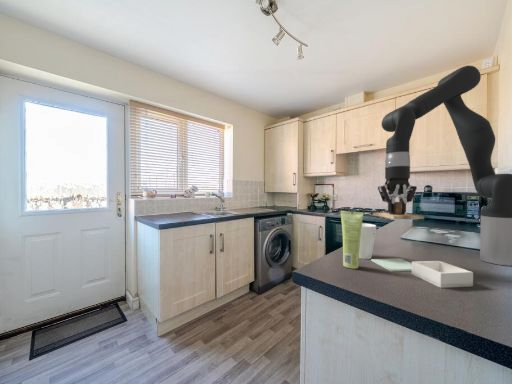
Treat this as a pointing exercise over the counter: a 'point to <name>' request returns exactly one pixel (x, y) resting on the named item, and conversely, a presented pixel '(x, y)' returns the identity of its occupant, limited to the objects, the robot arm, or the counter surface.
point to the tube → (351, 237)
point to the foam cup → (367, 240)
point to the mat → (394, 264)
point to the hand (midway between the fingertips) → (396, 213)
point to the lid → (398, 213)
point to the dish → (442, 274)
